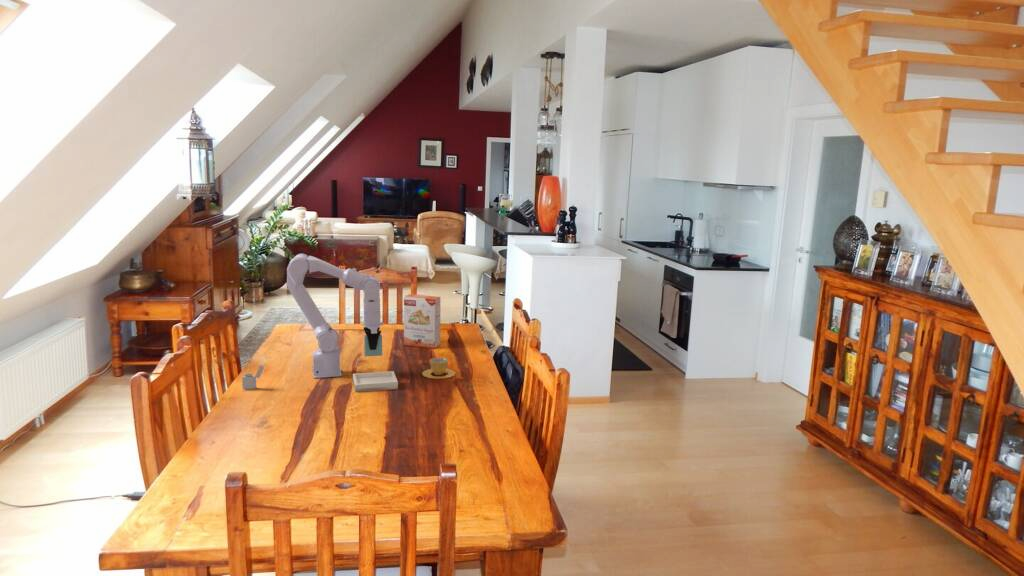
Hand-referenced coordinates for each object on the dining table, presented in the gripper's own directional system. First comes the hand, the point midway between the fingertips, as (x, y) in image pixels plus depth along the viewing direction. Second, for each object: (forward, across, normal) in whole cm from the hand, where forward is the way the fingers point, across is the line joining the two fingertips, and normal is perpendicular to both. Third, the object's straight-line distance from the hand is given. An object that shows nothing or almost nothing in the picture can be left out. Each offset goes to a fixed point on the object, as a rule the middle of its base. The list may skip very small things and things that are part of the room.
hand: (372, 348), depth 249 cm
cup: (+10, -6, -23) cm, 26 cm away
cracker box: (+10, +32, -23) cm, 41 cm away
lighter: (+10, -8, +40) cm, 42 cm away
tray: (+9, -13, 0) cm, 16 cm away
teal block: (+2, 0, 0) cm, 3 cm away
